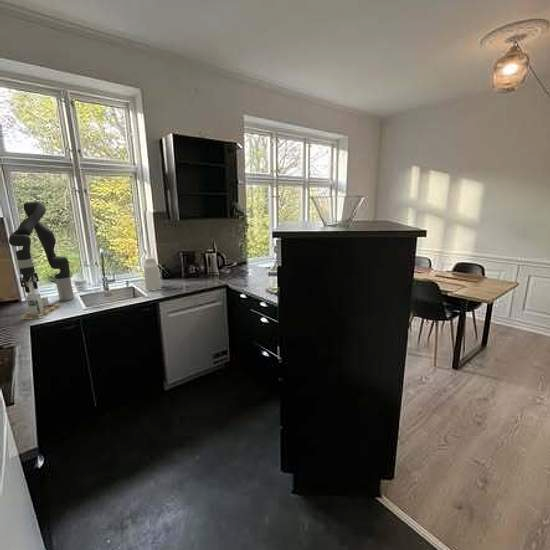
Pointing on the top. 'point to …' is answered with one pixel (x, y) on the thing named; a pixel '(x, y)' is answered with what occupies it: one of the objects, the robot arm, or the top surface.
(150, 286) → the milk
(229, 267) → the top surface
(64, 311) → the top surface
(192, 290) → the top surface
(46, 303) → the steel pin
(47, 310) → the hole bar
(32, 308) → the syrup box
